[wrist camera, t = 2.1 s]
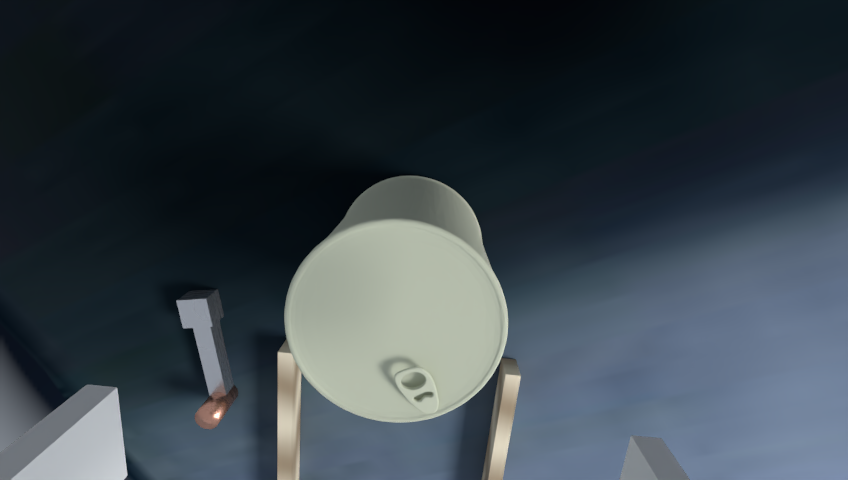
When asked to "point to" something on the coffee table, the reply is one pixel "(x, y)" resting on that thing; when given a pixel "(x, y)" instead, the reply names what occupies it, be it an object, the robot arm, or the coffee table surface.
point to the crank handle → (209, 353)
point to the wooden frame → (292, 402)
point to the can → (398, 305)
